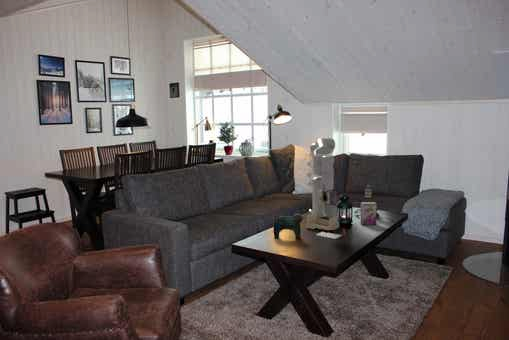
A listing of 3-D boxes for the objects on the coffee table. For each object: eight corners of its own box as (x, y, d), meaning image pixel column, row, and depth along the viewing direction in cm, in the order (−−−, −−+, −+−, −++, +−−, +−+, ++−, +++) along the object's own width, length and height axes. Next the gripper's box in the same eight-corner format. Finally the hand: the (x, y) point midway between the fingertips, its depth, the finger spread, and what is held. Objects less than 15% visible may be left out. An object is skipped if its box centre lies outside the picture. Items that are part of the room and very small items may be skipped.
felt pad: (315, 235, 293) (315, 234, 293) (322, 232, 300) (322, 231, 300) (335, 239, 284) (335, 238, 284) (341, 235, 291) (341, 235, 291)
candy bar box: (361, 225, 315) (361, 203, 312) (360, 223, 320) (360, 202, 317) (376, 225, 314) (377, 203, 311) (375, 223, 319) (375, 202, 316)
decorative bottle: (387, 218, 331) (388, 187, 327) (362, 221, 326) (363, 189, 322) (373, 212, 352) (373, 182, 348) (349, 214, 347) (350, 184, 344)
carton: (306, 227, 311) (306, 216, 310) (317, 223, 323) (317, 211, 321) (328, 232, 299) (328, 219, 298) (339, 227, 311) (339, 215, 309)
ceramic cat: (303, 237, 290) (302, 208, 287) (302, 240, 284) (302, 210, 281) (274, 236, 293) (273, 208, 290) (273, 239, 287) (272, 210, 284)
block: (317, 202, 294) (317, 190, 293) (321, 201, 298) (321, 189, 297) (333, 204, 287) (333, 192, 286) (336, 203, 291) (336, 191, 289)
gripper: (328, 172, 299) (328, 197, 301) (316, 175, 286) (316, 201, 288) (338, 172, 294) (338, 198, 296) (325, 176, 281) (325, 203, 283)
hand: (327, 199), depth 292 cm, fingers closed on block, 5 cm apart
